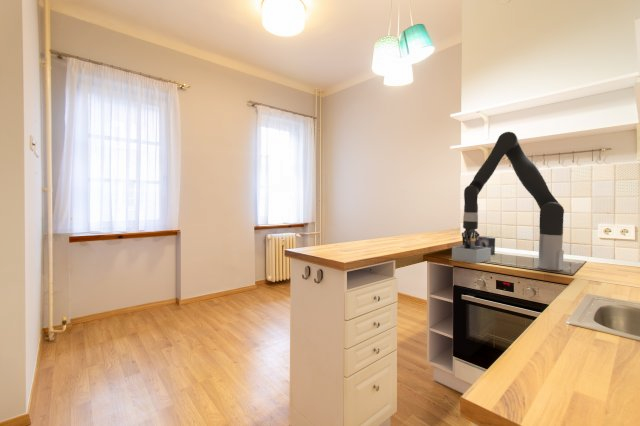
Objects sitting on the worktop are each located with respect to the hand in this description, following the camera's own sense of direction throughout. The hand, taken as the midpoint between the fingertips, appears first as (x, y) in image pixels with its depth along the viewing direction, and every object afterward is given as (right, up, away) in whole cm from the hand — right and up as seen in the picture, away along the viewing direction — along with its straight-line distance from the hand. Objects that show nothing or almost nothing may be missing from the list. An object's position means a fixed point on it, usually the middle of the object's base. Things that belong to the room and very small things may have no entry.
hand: (469, 250), depth 172 cm
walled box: (+1, -5, -1) cm, 5 cm away
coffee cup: (+8, -5, +16) cm, 19 cm away
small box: (+20, -5, +21) cm, 29 cm away
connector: (0, -3, 0) cm, 3 cm away
